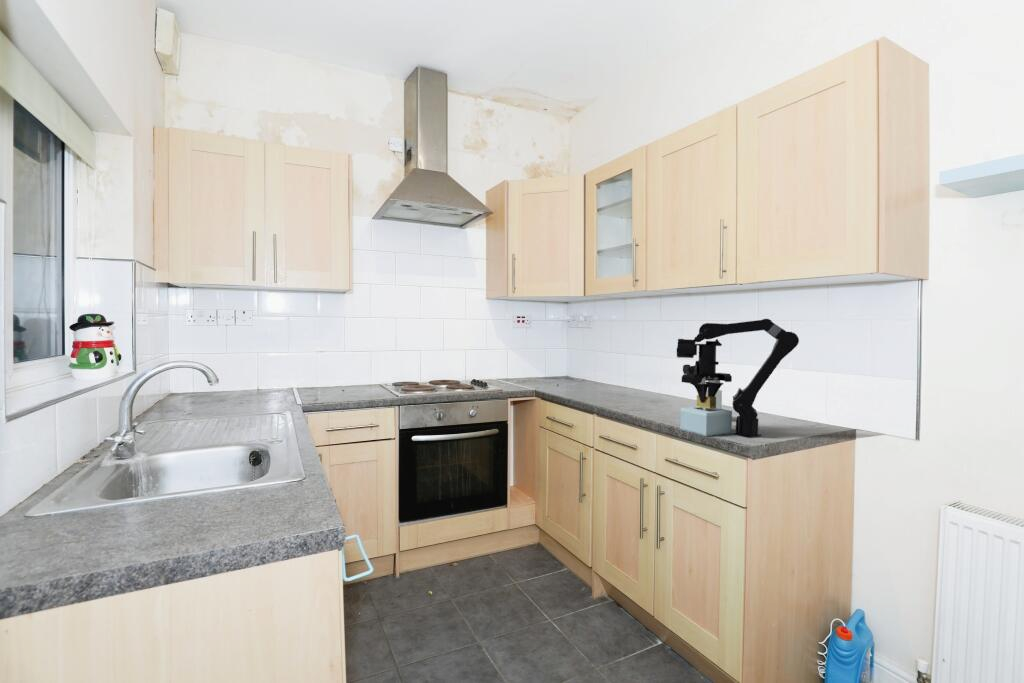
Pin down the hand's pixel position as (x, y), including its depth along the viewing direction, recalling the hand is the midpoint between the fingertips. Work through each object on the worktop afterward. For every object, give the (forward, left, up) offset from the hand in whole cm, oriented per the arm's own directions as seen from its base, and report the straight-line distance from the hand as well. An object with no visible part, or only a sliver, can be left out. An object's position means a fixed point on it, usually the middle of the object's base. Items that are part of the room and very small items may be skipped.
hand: (706, 402), depth 181 cm
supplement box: (+16, -19, -11) cm, 27 cm away
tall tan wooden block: (0, 0, -2) cm, 2 cm away
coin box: (0, 0, -10) cm, 10 cm away
